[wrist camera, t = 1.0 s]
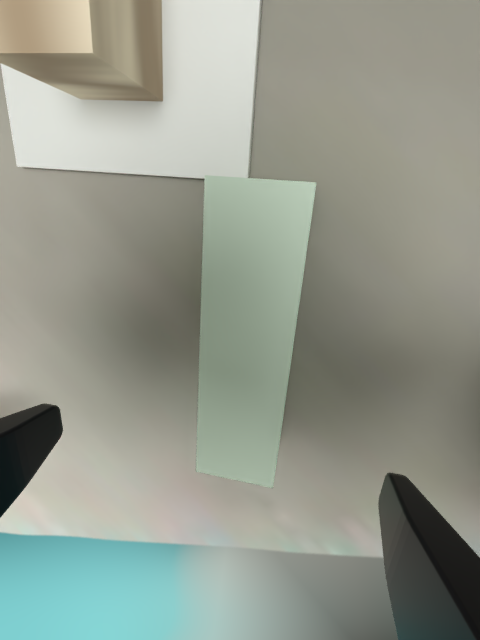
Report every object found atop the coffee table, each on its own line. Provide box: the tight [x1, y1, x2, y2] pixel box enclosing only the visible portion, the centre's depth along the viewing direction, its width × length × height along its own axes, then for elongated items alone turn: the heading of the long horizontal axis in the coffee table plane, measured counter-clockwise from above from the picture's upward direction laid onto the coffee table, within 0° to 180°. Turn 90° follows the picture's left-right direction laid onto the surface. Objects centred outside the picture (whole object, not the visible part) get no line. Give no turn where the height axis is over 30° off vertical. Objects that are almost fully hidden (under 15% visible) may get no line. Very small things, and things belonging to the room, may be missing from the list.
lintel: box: [196, 175, 316, 488], centre depth 16 cm, size 4×14×4 cm, turn 176°
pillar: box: [0, 0, 163, 101], centre depth 12 cm, size 4×4×5 cm
